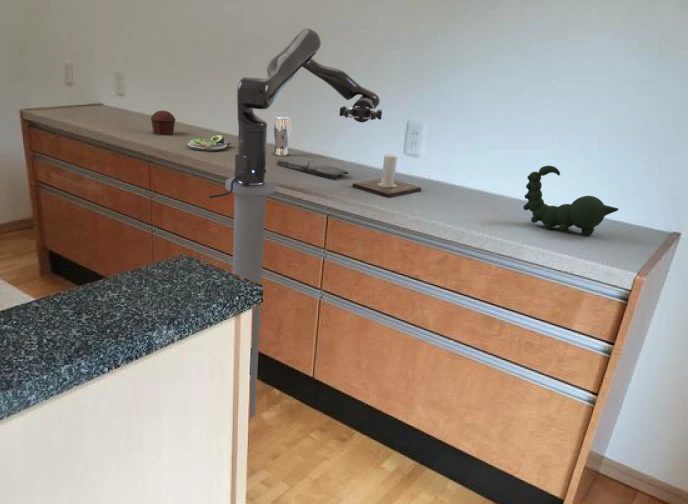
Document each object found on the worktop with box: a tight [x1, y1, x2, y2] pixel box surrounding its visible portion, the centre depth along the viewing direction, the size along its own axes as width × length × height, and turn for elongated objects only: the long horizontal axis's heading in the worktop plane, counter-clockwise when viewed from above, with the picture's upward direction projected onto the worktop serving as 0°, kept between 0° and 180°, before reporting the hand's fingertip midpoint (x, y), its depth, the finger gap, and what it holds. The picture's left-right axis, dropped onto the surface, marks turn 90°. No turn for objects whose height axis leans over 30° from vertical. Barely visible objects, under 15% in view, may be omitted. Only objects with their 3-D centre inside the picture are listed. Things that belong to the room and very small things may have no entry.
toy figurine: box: [523, 165, 619, 236], centre depth 174 cm, size 9×19×25 cm
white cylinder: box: [380, 154, 398, 186], centre depth 208 cm, size 4×4×10 cm
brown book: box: [352, 177, 422, 198], centre depth 211 cm, size 18×16×1 cm
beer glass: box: [273, 116, 292, 157], centre depth 251 cm, size 7×7×15 cm
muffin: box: [150, 110, 176, 136], centre depth 280 cm, size 12×11×10 cm
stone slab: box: [276, 157, 349, 181], centre depth 229 cm, size 10×3×30 cm
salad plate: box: [187, 134, 232, 152], centre depth 255 cm, size 19×18×5 cm
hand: (359, 115), depth 200 cm, fingers open, 8 cm apart
